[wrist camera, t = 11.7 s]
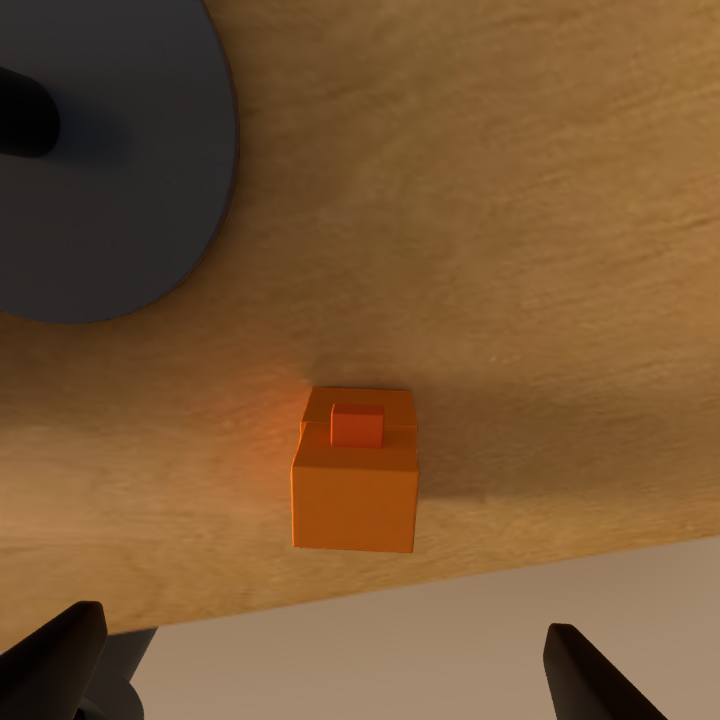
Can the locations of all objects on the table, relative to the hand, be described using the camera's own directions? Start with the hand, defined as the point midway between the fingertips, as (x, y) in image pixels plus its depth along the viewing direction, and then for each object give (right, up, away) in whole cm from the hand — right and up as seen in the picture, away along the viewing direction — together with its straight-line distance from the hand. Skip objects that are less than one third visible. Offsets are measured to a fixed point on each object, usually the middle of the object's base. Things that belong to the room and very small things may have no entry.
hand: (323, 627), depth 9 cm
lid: (-10, +13, +6) cm, 18 cm away
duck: (+1, +2, +10) cm, 10 cm away
